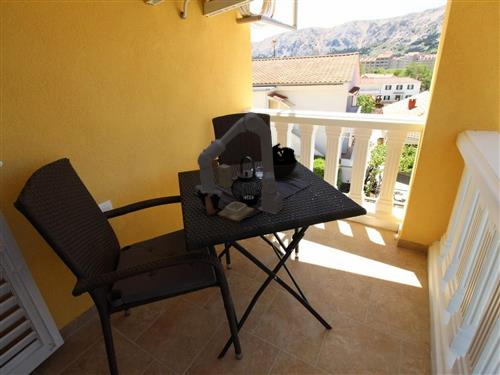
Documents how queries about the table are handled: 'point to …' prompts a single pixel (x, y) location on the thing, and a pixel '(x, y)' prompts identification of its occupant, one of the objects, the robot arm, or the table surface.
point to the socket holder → (236, 211)
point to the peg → (209, 205)
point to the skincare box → (225, 176)
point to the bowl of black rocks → (283, 161)
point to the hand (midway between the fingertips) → (210, 207)
